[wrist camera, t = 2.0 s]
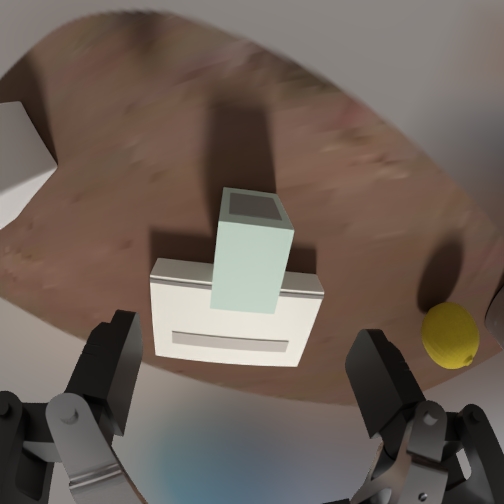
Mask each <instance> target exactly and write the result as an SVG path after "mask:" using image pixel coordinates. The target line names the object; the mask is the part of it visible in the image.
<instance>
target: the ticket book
mask: <svg viewBox="0 0 504 504" xmlns="http://www.w3.org/2000/svg"><path fill="white" fill-rule="evenodd" d="M213 270H214V264H210V263H201V262H192V261H183V260H174V259H165V258H158V259H157V261H156V263H155V265H154V267H153V269H152V272H151V274H150V286H151V304H152V319H153V331H154V341H155V351H156V355H158V356H165V357H172V358H180V359H188V360H197V361H206V362H217V363H229V364H244V365H263V366H297V365H298V363H299V360H300V358H301V355H302V352H303V350H304V347H305V345H306V342H307V340H308V337H309V334H310V332H311V329H312V326H313V323H314V321H315V318H316V315H317V312H318V310H319V307H320V304H321V301H322V299H323V297H324V290H323V288H322V286H321V283H320V281H319V279H318V277H317V275H316V274H307V273H297V272H287V271H285V273H284V277H283V281H282V285H281V289H280V293H279V297H278V301H277V305H276V309H275V313H274V314H265V313H252V312H240V311H229V310H219V309H210V302H211V291H212V280H213Z"/></svg>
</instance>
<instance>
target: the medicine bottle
mask: <svg viewBox="0 0 504 504" xmlns="http://www.w3.org/2000/svg"><path fill="white" fill-rule="evenodd" d="M56 169H57V164H56V162H55V161H54V159H53V157H52V156H51V154H50V153H49V151H48V149H47V148H46V146H45V144H44V143H43V141H42V139H41V138H40V136H39V134H38V132H37V131H36V129H35V127H34V125H33V124H32V122H31V120H30V118H29V116H28V115H27V113H26V111H25V109H24V107H23V105H22V103H21V102H20V101H16V102H7V103H0V229H2V228H3V227H4V226H6V225H7V224H8V223H10V222H11V221H13V220H14V219H16V218H17V216H18V215H19V214H20V212H21V211H22V210H23V208H24V207H25V206H26V205H27V203H28V202H29V201H30V200H31V198H32V197H33V196H34V195H35V193H36V192H37V191H38V190H39V189H40V187H41V186H42V185H43V184H44V183H45V182H46V181H47V179H48V178H49V177H50V176H51V175H52V174H53V173H54V172H55V170H56Z"/></svg>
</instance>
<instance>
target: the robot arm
mask: <svg viewBox="0 0 504 504" xmlns="http://www.w3.org/2000/svg"><path fill="white" fill-rule="evenodd" d="M485 326H486V328H487V329H488V330H489V332H490V333H491V334H492V335H493V337H494V338H495V339H496V340H497V342H498V343H499V344H500V346H501V347H502V348H503V350H504V286H503V287H502V289H501V290H500V291H499V293H498V294H497V295H496V297H495V299H494V300H493V302H492V304H491V306H490V308H489V310H488V313H487V315H486V319H485ZM142 354H143V342H142V334H141V326H140V317H139V313H137V312H131V311H124V310H117V311H116V312H115V314H114V316H113V318H112V321H111V323H106V322H101V323H100V324H99V325H98V326H97V327H96V328H95V329H93V330H92V332H91V334H90V336H89V338H88V340H87V342H86V345H85V346H84V349H83V351H82V354H81V355H80V357H79V360H78V362H77V364H76V366H75V369H74V371H73V373H72V376H71V378H70V381H69V383H68V385H67V388H66V390H65V391H64V393H62V394H59V395H57V396H55V397H54V398H52V399H51V400H50V402H48V403H22V402H21V401H20V400H19V398H18V397H17V396H16V395H15V394H14V393H12V392H9V391H0V504H48V499H49V491H50V485H51V479H52V474H53V468H54V463H55V462H62V463H63V465H64V467H65V470H66V472H67V474H68V476H69V479H70V483H69V489H70V492H71V494H72V496H73V498H74V500H75V502H76V504H148V502H147V501H146V500H145V498H144V497H143V496H142V495H141V493H140V492H139V491H138V489H137V487H136V486H135V484H134V483H133V481H132V480H131V478H130V477H129V475H128V473H127V472H126V470H125V469H124V467H123V465H122V464H121V462H120V460H119V458H118V457H117V455H116V453H115V451H114V450H113V448H112V446H111V445H112V441H113V436H114V434H115V435H119V436H123V435H124V431H125V426H126V422H127V417H128V413H129V408H130V404H131V399H132V395H133V390H134V387H135V383H136V379H137V375H138V371H139V367H140V364H141V360H142ZM345 368H346V372H347V375H348V378H349V380H350V383H351V386H352V389H353V391H354V394H355V397H356V400H357V402H358V405H359V408H360V411H361V414H362V417H363V419H364V422H365V425H366V428H367V431H368V434H369V437H370V439H373V438H378V437H382V440H383V441H382V442H381V444H380V445H379V447H378V450H377V452H376V455H375V457H374V460H373V462H372V465H371V467H370V470H369V472H368V474H367V477H366V479H365V481H364V483H363V485H362V486H361V487H360V489H358V491H357V492H356V493H355V494H354V495H353V497H352V499H351V500H350V501H349V499H343V500H339V501H334V502H328V503H323V504H504V454H503V452H502V449H501V447H500V445H499V442H498V440H497V438H496V436H495V434H494V431H493V429H492V427H491V425H490V423H489V421H488V419H487V417H486V415H485V413H484V411H483V410H482V409H481V408H480V407H479V406H477V405H474V404H468V405H466V406H465V407H464V408H463V409H462V410H461V411H460V412H459V413H456V412H445V410H444V409H443V408H442V406H441V405H439V404H438V403H437V402H434V401H430V400H426V399H425V397H424V395H423V393H422V391H421V389H420V387H419V385H418V383H417V381H416V380H415V378H414V376H413V374H412V372H411V371H409V369H410V368H409V367H408V365H407V363H405V359H404V357H403V356H402V354H401V352H400V350H399V349H398V348H397V347H395V346H394V345H393V344H392V343H391V342H388V340H387V338H386V336H385V335H384V333H383V331H382V330H380V329H362V330H361V331H360V332H359V333H358V335H357V337H356V339H355V341H354V343H353V345H352V347H351V349H350V351H349V353H348V355H347V357H346V362H345ZM462 448H464V451H465V453H466V456H467V458H468V461H469V464H470V466H471V470H472V473H471V476H470V477H469V479H468V480H466V479H465V478H464V475H463V472H462V470H461V467H460V464H459V461H458V458H457V456H456V453H457V452H459V451H460V450H461V449H462Z"/></svg>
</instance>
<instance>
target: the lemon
mask: <svg viewBox="0 0 504 504" xmlns="http://www.w3.org/2000/svg"><path fill="white" fill-rule="evenodd" d="M421 337H422V342H423V345H424V347H425V349H426V351H427V352H428V354H429V355H430V357H431V358H432V359H433V360H434V361H435V362H436V363H437V364H439V365H440V366H442V367H444V368H448V369H456V368H460V367H462V366H464V365H469V364H470V363H471V362H472V359H473V357H474V355H475V353H476V351H477V348H478V345H479V332H478V329H477V326H476V324H475V322H474V320H473V318H472V316H471V315H470V314H469V312H468V311H467V310H466V309H464V308H463V307H461V306H460V305H458V304H456V303H452V302H444V303H440V304H438V305H436V306H434V307H432V308H430V309H429V312H428V313H427V314H426V316H425V318H424V320H423V323H422V327H421Z"/></svg>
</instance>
